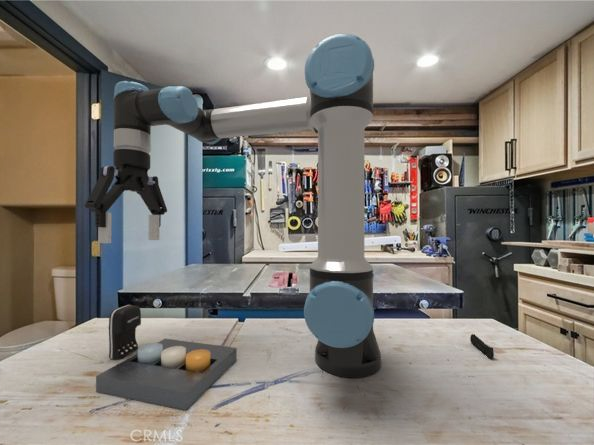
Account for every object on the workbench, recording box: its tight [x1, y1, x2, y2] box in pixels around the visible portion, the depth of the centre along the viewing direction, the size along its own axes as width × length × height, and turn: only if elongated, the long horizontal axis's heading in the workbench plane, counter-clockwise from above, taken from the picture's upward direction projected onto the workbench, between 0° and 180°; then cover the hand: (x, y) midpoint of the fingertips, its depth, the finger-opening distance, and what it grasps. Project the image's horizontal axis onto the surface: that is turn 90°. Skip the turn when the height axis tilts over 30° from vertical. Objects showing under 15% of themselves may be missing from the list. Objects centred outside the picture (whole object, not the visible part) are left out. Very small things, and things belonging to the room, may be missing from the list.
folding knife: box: [469, 333, 495, 360], centre depth 69 cm, size 10×1×3 cm, turn 172°
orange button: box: [186, 349, 210, 373], centre depth 57 cm, size 5×5×3 cm
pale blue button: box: [137, 342, 163, 365], centre depth 60 cm, size 5×5×3 cm
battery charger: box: [108, 304, 142, 360], centre depth 68 cm, size 7×4×11 cm, turn 171°
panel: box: [95, 338, 238, 411], centre depth 58 cm, size 20×18×3 cm
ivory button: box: [161, 346, 186, 369], centre depth 58 cm, size 5×5×3 cm
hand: (131, 241), depth 65 cm, fingers open, 13 cm apart
